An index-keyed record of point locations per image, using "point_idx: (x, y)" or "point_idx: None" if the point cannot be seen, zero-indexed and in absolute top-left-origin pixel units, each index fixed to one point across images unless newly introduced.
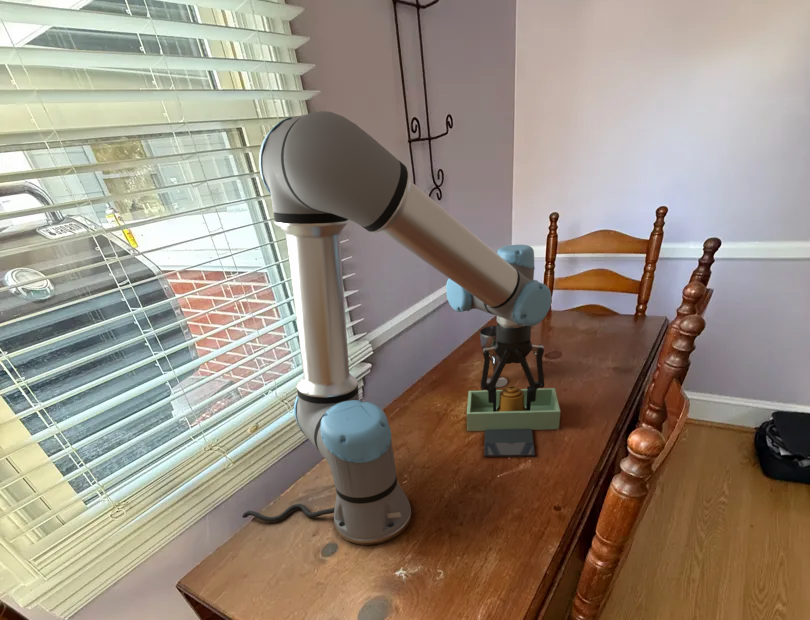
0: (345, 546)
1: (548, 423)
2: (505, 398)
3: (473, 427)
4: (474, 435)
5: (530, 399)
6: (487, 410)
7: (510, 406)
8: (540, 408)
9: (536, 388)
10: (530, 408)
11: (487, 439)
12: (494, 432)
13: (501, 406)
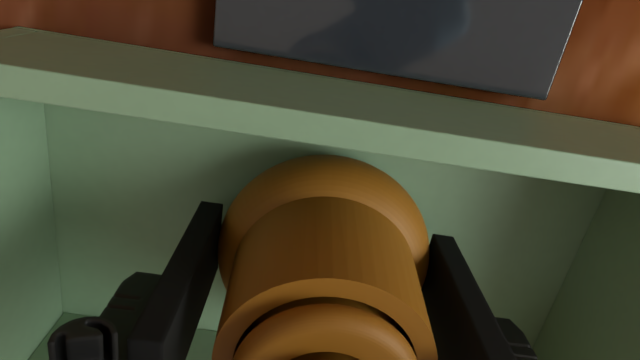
0: None
1: (71, 46)
2: (406, 302)
3: (626, 131)
4: (626, 61)
5: (164, 278)
6: None
7: (354, 234)
8: None
9: (49, 352)
10: None
11: None
12: (494, 45)
13: (415, 268)
